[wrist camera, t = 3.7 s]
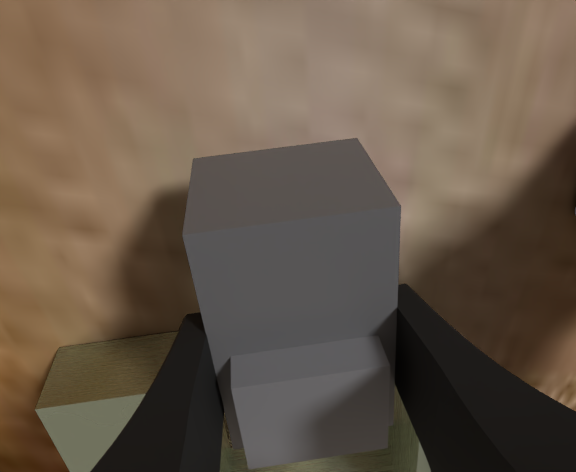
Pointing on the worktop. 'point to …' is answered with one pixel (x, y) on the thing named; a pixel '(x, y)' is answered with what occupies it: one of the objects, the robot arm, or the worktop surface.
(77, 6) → the worktop surface
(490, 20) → the worktop surface
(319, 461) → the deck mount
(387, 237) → the stepped gray box
